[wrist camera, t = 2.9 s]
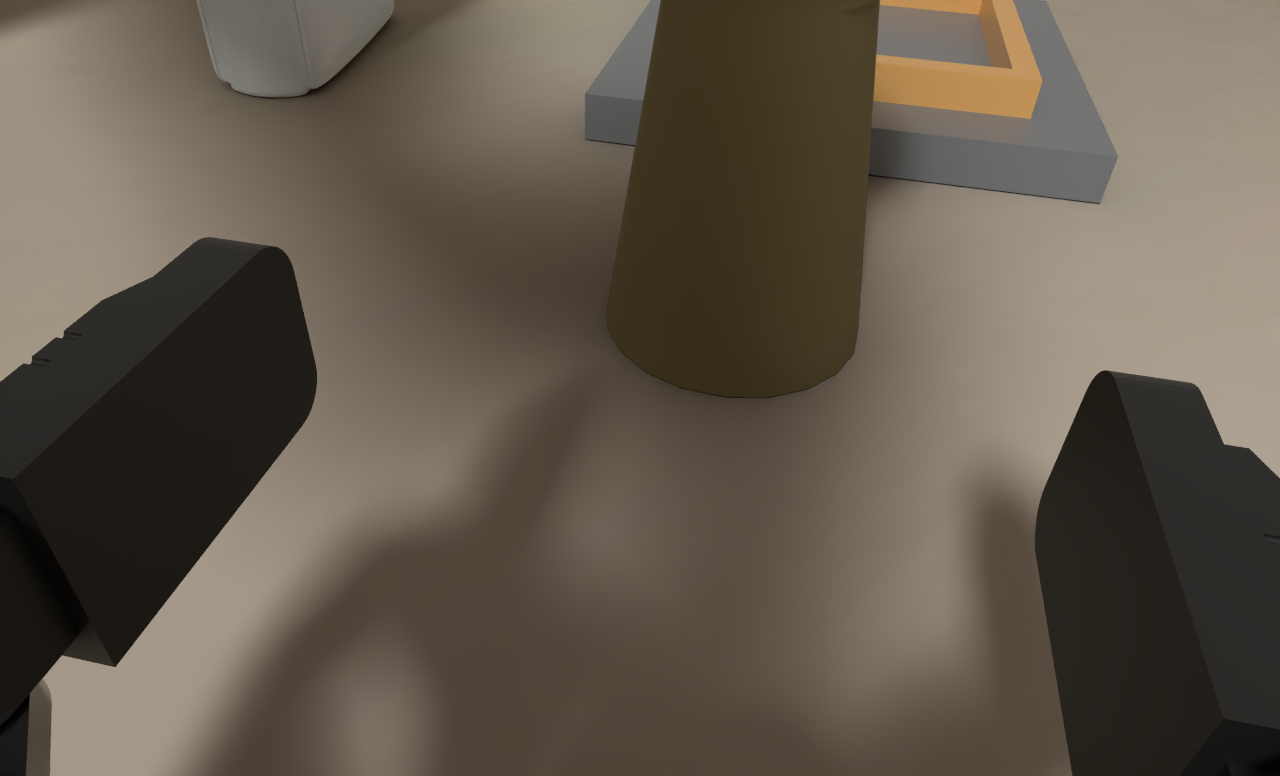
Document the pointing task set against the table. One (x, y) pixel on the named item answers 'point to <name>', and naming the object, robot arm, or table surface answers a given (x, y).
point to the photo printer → (287, 41)
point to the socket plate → (938, 99)
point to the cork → (748, 195)
